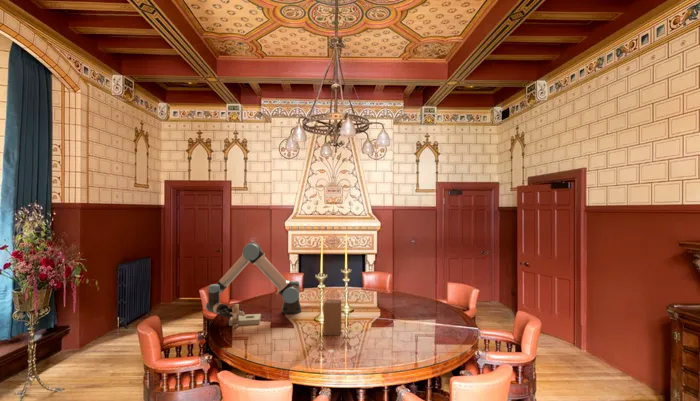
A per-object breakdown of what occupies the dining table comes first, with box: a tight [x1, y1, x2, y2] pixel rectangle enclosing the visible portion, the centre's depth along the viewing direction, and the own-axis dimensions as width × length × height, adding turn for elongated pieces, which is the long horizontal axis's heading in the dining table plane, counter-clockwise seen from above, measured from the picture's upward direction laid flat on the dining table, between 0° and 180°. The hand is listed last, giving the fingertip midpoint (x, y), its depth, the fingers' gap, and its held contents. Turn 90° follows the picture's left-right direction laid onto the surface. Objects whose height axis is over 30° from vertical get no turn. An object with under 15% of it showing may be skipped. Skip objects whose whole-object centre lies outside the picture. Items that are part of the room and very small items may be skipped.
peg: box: [231, 303, 240, 329], centre depth 233 cm, size 4×4×15 cm
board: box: [228, 313, 262, 327], centre depth 246 cm, size 20×14×3 cm
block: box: [323, 298, 342, 337], centre depth 222 cm, size 10×10×20 cm
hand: (240, 315), depth 230 cm, fingers open, 5 cm apart
